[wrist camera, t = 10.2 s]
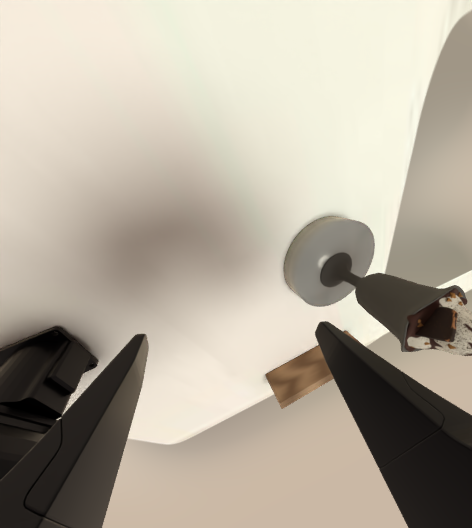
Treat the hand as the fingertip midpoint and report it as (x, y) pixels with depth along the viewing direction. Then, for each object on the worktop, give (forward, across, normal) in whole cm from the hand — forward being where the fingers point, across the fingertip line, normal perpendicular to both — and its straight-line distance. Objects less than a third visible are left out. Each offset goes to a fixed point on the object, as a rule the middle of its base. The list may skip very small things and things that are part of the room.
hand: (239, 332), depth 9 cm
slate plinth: (+14, -15, +3) cm, 21 cm away
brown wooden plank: (+13, -18, +24) cm, 32 cm away
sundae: (+12, -15, +3) cm, 19 cm away
